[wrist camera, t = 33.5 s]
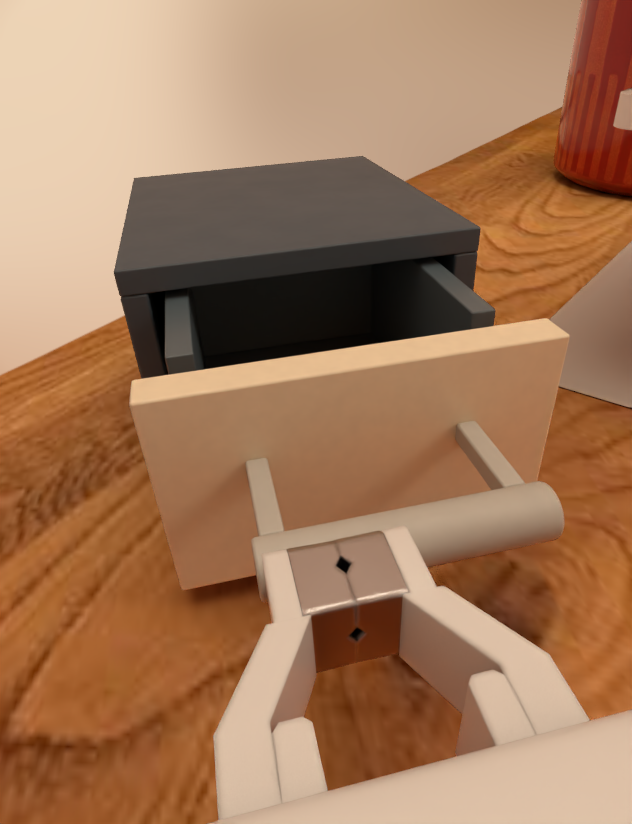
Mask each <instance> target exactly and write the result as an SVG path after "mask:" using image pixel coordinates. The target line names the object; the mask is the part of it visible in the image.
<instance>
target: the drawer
mask: <svg viewBox="0 0 632 824" xmlns="http://www.w3.org/2000/svg"><path fill="white" fill-rule="evenodd" d="M494 318H495V309H494V308H493V307H492V306H491V305H489V304H488V303H487V302H486V301H484V300H483V299H482V298H481V297H480V296H478V295H477V294H476V293H475V292H474V291H472V290H471V289H470V288H469V287H468V286H466V285H465V284H464V283H463V282H462V281H460V280H459V279H458V278H457V277H455V276H454V275H453V274H452V273H451V272H449V271H448V270H447V269H446V268H445V267H443V266H442V265H441V264H440V263H439V262H437V261H436V260H435V259H434V258H433V257H428V258H420V259H412V260H404V261H397V262H389V263H381V264H373V265H365V266H357V267H350V268H342V269H334V270H326V271H318V272H310V273H302V274H295V275H287V276H279V277H271V278H263V279H255V280H248V281H240V282H232V283H224V284H216V285H208V286H201V287H193V288H185V289H177V290H169V291H165V361H166V365H167V370H168V374H169V375H164V376H157V377H150V378H144V379H137V380H133V381H132V382H131V391H130V401H129V407H130V410H131V414H132V417H133V421H134V424H135V428H136V431H137V435H138V438H139V442H140V446H141V449H142V453H143V456H144V460H145V463H146V467H147V470H148V474H149V477H150V481H151V484H152V488H153V491H154V495H155V498H156V502H157V505H158V509H159V513H160V516H161V520H162V523H163V527H164V530H165V534H166V537H167V541H168V544H169V548H170V551H171V555H172V558H173V562H174V565H175V569H176V573H177V576H178V580H179V583H180V587H181V589H182V590H188V589H193V588H198V587H202V586H207V585H212V584H217V583H222V582H226V581H231V580H236V579H241V578H245V577H250V576H255V575H256V576H257V582H258V588H259V594H260V599H261V601H262V602H265V603H266V602H268V597H267V590H266V583H265V577H264V570H263V563H262V553H268V552H273V551H279V550H284V549H286V551H287V549H288V548H294V547H300V546H305V545H311V544H317V543H323V542H328V541H334V540H336V539H340V538H345V537H350V536H354V535H359V534H364V533H368V532H373V531H378V530H379V531H381V530H384V529H389V528H394V527H399V526H403V525H404V526H405V527H407V528H408V530H409V532H410V534H411V536H412V538H413V540H414V542H415V544H416V546H417V548H418V550H419V552H420V554H421V556H422V558H423V560H424V562H425V564H426V566H427V567H432V566H437V565H441V564H446V563H451V562H455V561H460V560H464V559H469V558H474V557H478V556H483V555H487V554H492V553H497V552H501V551H506V550H511V549H515V548H520V547H524V546H529V545H534V544H538V543H543V542H547V541H552V540H556V539H557V538H558V537H560V536H561V534H562V532H563V529H564V514H563V509H562V506H561V503H560V501H559V498H558V497H557V495H556V493H555V492H554V490H553V489H552V488H551V487H550V486H549V485H548V484H546V483H544V482H540V481H537V479H538V474H539V470H540V465H541V461H542V457H543V452H544V448H545V444H546V439H547V435H548V430H549V426H550V422H551V417H552V413H553V408H554V404H555V400H556V395H557V391H558V386H559V382H560V378H561V373H562V369H563V364H564V360H565V356H566V351H567V347H568V342H569V338H570V337H569V334H568V333H566V332H565V331H563V330H562V329H561V328H559V327H558V326H557V325H555V324H554V323H553V322H551V321H550V320H549V319H546V318H544V319H537V320H530V321H524V322H517V323H510V324H504V325H497V326H493V325H494Z"/></svg>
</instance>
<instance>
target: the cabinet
mask: <svg viewBox="0 0 632 824" xmlns="http://www.w3.org/2000/svg"><path fill="white" fill-rule="evenodd" d="M479 236H480V227H479V226H477V225H475V224H474V223H472V222H471V221H469V220H467V219H466V218H464V217H462V216H461V215H459V214H457V213H456V212H454V211H452V210H451V209H449V208H447V207H446V206H444V205H442V204H441V203H439V202H438V201H436V200H434V199H433V198H431V197H429V196H428V195H426V194H424V193H423V192H421V191H419V190H418V189H416V188H414V187H413V186H411V185H410V184H408V183H406V182H405V181H403V180H401V179H400V178H398V177H396V176H395V175H393V174H391V173H390V172H388V171H386V170H385V169H383V168H382V167H380V166H378V165H377V164H375V163H373V162H371V161H370V160H368V159H367V158H365V157H363V156H359V157H348V158H338V159H327V160H317V161H306V162H297V163H286V164H275V165H265V166H255V167H245V168H234V169H223V170H213V171H203V172H193V173H183V174H173V175H161V176H151V177H140V178H134V182H133V186H132V191H131V196H130V200H129V205H128V209H127V214H126V219H125V223H124V228H123V233H122V237H121V242H120V246H119V251H118V256H117V260H116V265H115V270H114V275H115V279H116V283H117V287H118V290H119V295H120V296H121V302H122V306H123V310H124V313H125V317H126V321H127V325H128V329H129V333H130V336H131V340H132V344H133V348H134V352H135V356H136V360H137V363H138V367H139V371H140V375H141V379H144V378H150V377H157V376H164V375H169V374H168V370H167V365H166V361H165V291H169V290H177V289H185V288H193V287H201V286H208V285H216V284H224V283H232V282H240V281H248V280H255V279H263V278H271V277H279V276H287V275H295V274H302V273H310V272H318V271H326V270H334V269H342V268H350V267H357V266H365V265H373V264H381V263H389V262H397V261H404V260H412V259H420V258H428V257H433V258H434V259H435V260H436V261H437V262H439V263H440V264H441V265H442V266H443V267H445V268H446V269H447V270H448V271H449V272H451V273H452V274H453V275H454V276H455V277H457V278H458V279H459V280H460V281H462V282H463V283H464V284H465V285H466V286H468V287H469V288H470V289H471V290H472V291H473V287H474V279H475V270H476V261H477V252H476V251H478V245H479Z"/></svg>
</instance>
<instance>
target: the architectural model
mask: <svg viewBox="0 0 632 824" xmlns="http://www.w3.org/2000/svg"><path fill="white" fill-rule="evenodd" d="M613 126H614V127H616V128H620V129H626V130H632V88H629V89H626V90H624V91H621V93H620V97H619V102H618V106H617V111H616V115H615V120H614V124H613ZM549 320H550V321H551V322H553V323H554V324H555V325H557V326H558V327H559V328H561V329H562V330H563V331H565V332H566V333H568V334H569V337H570V338H569V342H568V347H567V351H566V356H565V360H564V364H563V369H562V373H561V378H560V382H559V387H563V388H566V389H569V390H573V391H576V392H579V393H583V394H586V395H589V396H593V397H596V398H599V399H603V400H606V401H609V402H613V403H616V404H619V405H623V406H626V407H629V408H632V241H631V242H630V243H629V244H628V245H627V246H626V247H625V248H624V249H623V250H622V251H621V252H620V253H619V254H617V255H616V256H615V257H614V258H613V259H612V260H611V261H610V262H609V263H608V264H607V265H606V266H605V267H604V268H603V269H602V270H601V271H600V272H599V273H598V274H597V275H595V276H594V277H593V278H592V279H591V280H590V281H589V282H588V283H587V284H586V285H585V286H584V287H583V288H582V289H581V290H580V291H579V292H578V293H577V294H576V295H574V296H573V297H572V298H571V299H570V300H569V301H568V302H567V303H566V304H565V305H564V306H563V307H562V308H561V309H560V310H559V311H558V312H557V313H556V314H555V315H553V316H552V317H551V318H550V319H549Z"/></svg>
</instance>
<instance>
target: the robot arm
mask: <svg viewBox="0 0 632 824" xmlns="http://www.w3.org/2000/svg"><path fill="white" fill-rule="evenodd" d="M262 563H263V570H264V577H265V583H266V590H267V597H268V603H269V610H270V616H271V622H272V623H271V624H267V625H266V626H265V628H264V630H263V632H262V634H261V636H260V638H259V641H258V643H257V645H256V647H255V649H254V651H253V653H252V655H251V658H250V660H249V662H248V664H247V666H246V668H245V670H244V672H243V674H242V677H241V679H240V681H239V683H238V685H237V687H236V689H235V691H234V693H233V696H232V698H231V700H230V702H229V704H228V706H227V708H226V710H225V712H224V715H223V717H222V719H221V721H220V723H219V725H218V727H217V729H216V731H215V734H214V736H213V737H214V753H215V770H216V787H217V804H218V821H215V822H211V823H207V824H632V709H631V710H628V711H624V712H620V713H617V714H613V715H609V716H605V717H602V718H598V719H594V720H590V719H589V718H588V716H587V715H586V713H585V711H584V710H583V708H582V707H581V705H580V703H579V702H578V700H577V698H576V697H575V695H574V694H573V692H572V690H571V689H570V687H569V685H568V684H567V682H566V681H565V679H564V677H563V676H562V674H561V673H560V671H559V669H558V668H557V666H556V664H555V663H554V661H553V660H552V658H551V656H550V655H549V654H548V653H547V652H545V651H543V650H542V649H540V648H539V647H537V646H536V645H534V644H533V643H531V642H530V641H528V640H527V639H525V638H524V637H522V636H520V635H519V634H517V633H516V632H514V631H513V630H511V629H510V628H508V627H507V626H505V625H504V624H502V623H500V622H499V621H497V620H496V619H494V618H493V617H491V616H490V615H488V614H487V613H485V612H484V611H482V610H480V609H479V608H477V607H476V606H474V605H473V604H471V603H470V602H468V601H467V600H465V599H464V598H462V597H461V596H459V595H457V594H456V593H454V592H453V591H451V590H450V589H448V588H447V587H445V586H439V587H437V586H436V584H435V582H434V580H433V578H432V576H431V574H430V572H429V570H428V568H427V566H426V564H425V562H424V560H423V558H422V556H421V554H420V552H419V550H418V548H417V546H416V544H415V542H414V540H413V538H412V536H411V534H410V532H409V530H408V528H407V527H405V526H404V525H403V526H399V527H394V528H389V529H384V530H381V531H379V530H378V531H373V532H368V533H364V534H359V535H354V536H350V537H345V538H340V539H336V540H334V541H328V542H323V543H317V544H311V545H305V546H300V547H294V548H288V549H287V551H286V549H284V550H279V551H273V552H268V553H262ZM395 654H399V656H400V657H401V658H402V659H403V660H404V661H405V662H406V663H407V664H408V665H409V666H410V667H412V668H413V669H414V670H415V671H416V672H417V673H418V674H419V675H420V676H421V677H422V678H423V679H425V680H426V681H427V682H428V683H429V684H430V685H431V686H432V687H433V688H434V689H435V690H436V691H438V692H439V693H440V694H441V695H442V696H443V697H444V698H445V699H446V700H447V701H448V702H449V703H450V704H452V705H453V706H454V707H455V708H456V709H457V710H458V711H459V712H460V713H461V714H462V720H461V725H460V730H459V735H458V741H457V746H456V751H455V753H456V757H452V758H449V759H445V760H441V761H438V762H434V763H430V764H426V765H423V766H419V767H415V768H412V769H408V770H404V771H400V772H397V773H393V774H389V775H386V776H382V777H378V778H374V779H371V780H367V781H363V782H359V783H356V784H352V785H348V786H345V787H341V788H337V789H333V790H330V791H328V790H327V785H326V781H325V776H324V772H323V767H322V763H321V758H320V754H319V749H318V745H317V740H316V736H315V731H314V727H313V722H312V721H310V720H308V719H306V718H304V715H305V712H306V708H307V705H308V702H309V699H310V696H311V692H312V689H313V686H314V683H315V680H316V673H319V672H323V671H327V670H330V669H334V668H338V667H342V666H345V665H349V664H353V663H357V662H362V661H366V660H371V659H376V658H381V657H386V656H391V655H395Z"/></svg>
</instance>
